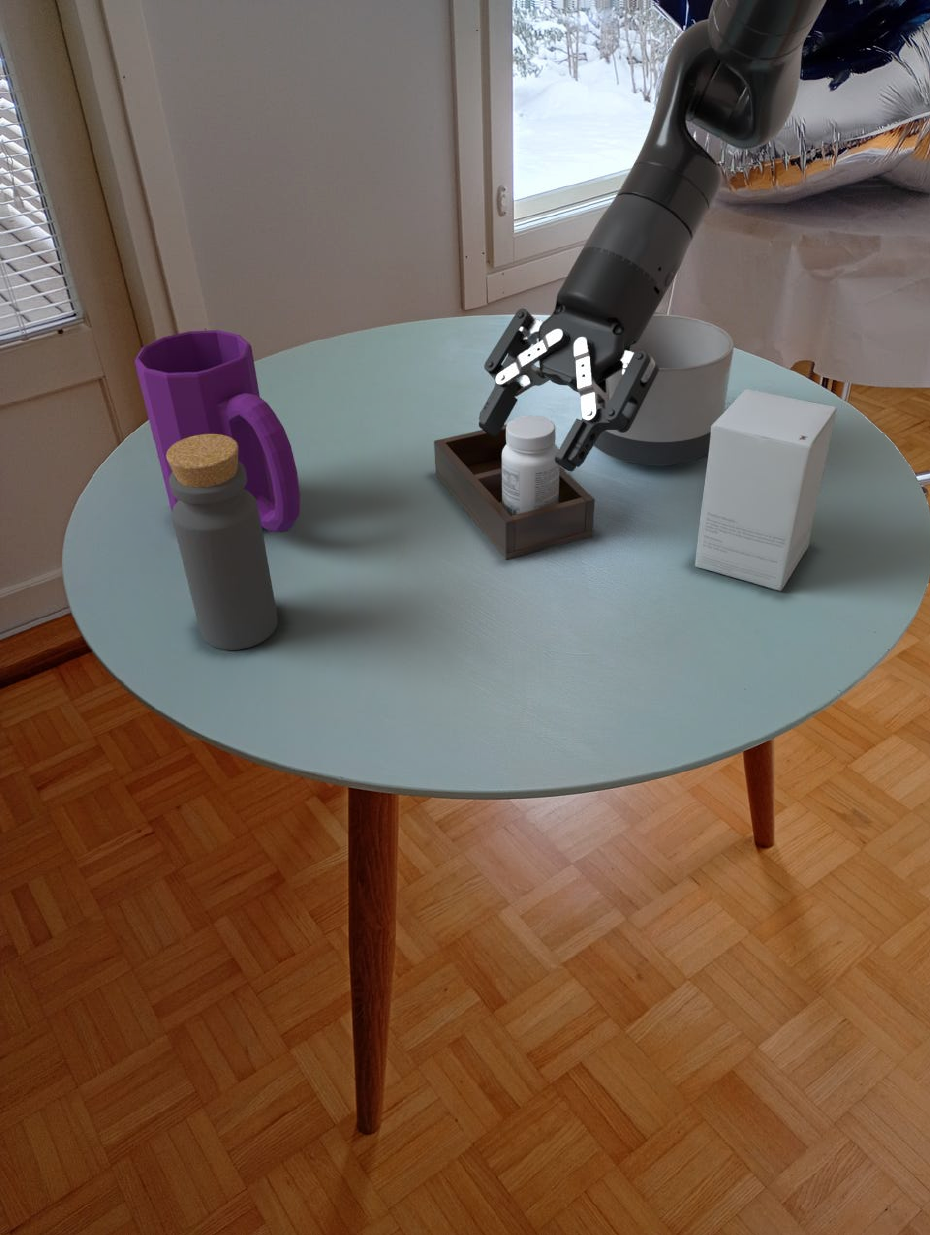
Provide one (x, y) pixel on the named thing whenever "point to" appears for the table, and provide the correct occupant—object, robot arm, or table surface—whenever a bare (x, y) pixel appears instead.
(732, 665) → the table surface
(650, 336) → the planter
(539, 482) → the pill bottle
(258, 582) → the bottle
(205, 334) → the mug
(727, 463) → the white packaging box
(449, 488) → the divided wooden box
